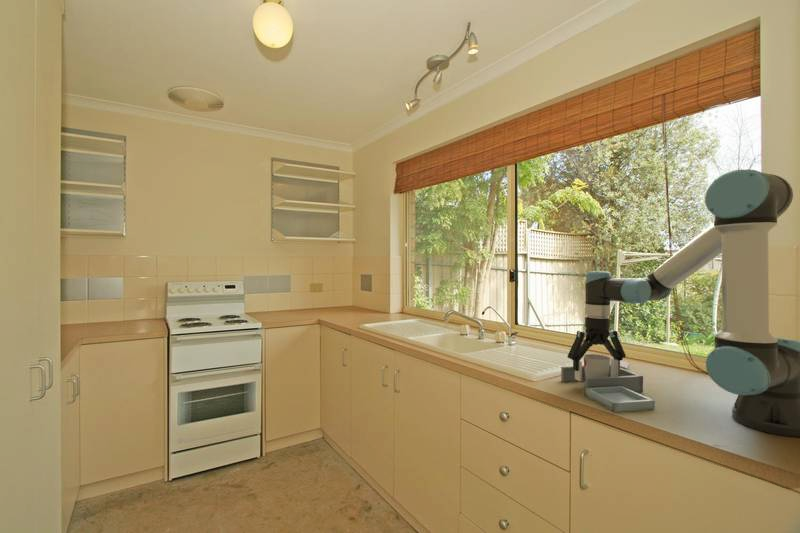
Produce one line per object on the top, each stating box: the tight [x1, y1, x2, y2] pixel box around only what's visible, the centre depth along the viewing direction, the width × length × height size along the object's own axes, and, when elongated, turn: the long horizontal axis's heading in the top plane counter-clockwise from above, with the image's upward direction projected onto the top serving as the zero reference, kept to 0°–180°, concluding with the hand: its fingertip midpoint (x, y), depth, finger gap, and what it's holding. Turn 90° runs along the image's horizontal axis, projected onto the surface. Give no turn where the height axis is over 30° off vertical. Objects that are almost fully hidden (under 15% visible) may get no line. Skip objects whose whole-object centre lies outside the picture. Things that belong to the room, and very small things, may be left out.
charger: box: [610, 358, 631, 371], centre depth 148 cm, size 5×9×15 cm
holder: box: [560, 365, 644, 393], centre depth 133 cm, size 14×20×5 cm
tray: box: [584, 386, 656, 413], centre depth 117 cm, size 13×13×2 cm
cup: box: [583, 353, 611, 378], centre depth 132 cm, size 8×8×10 cm
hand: (596, 379), depth 132 cm, fingers open, 13 cm apart
